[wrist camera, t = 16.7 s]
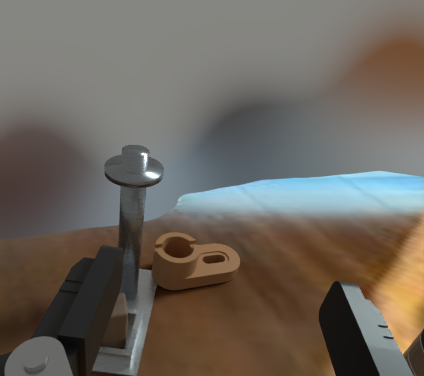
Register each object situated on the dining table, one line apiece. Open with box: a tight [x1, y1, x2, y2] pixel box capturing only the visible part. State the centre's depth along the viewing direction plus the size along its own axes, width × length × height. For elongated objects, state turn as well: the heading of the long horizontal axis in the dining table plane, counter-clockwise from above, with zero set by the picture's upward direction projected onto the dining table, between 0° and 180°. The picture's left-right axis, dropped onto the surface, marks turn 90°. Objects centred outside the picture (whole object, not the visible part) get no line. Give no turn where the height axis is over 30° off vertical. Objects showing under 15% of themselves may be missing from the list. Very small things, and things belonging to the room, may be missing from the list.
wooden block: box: [101, 293, 128, 349], centre depth 46 cm, size 4×4×8 cm
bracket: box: [152, 232, 240, 290], centre depth 62 cm, size 18×8×7 cm, turn 111°
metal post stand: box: [92, 145, 164, 376], centre depth 46 cm, size 10×20×28 cm, turn 178°
